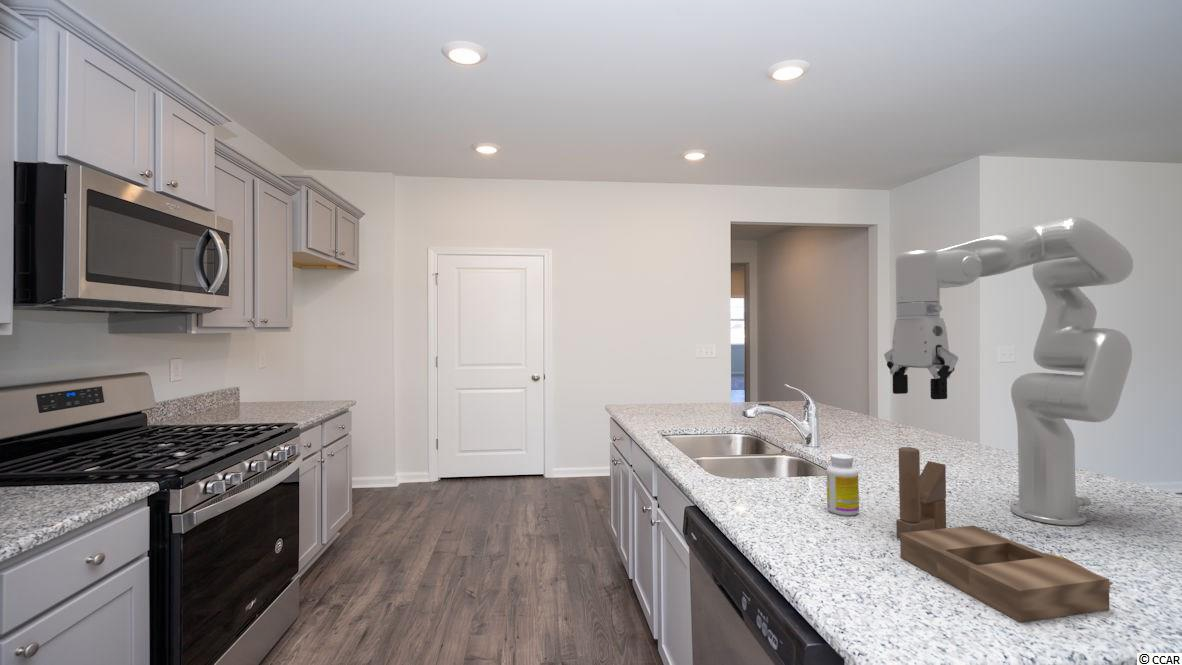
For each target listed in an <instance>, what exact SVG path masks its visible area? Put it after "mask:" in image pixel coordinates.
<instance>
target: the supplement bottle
mask: <svg viewBox="0 0 1182 665" xmlns="http://www.w3.org/2000/svg"><path fill="white" fill-rule="evenodd" d="M830 462H831V465H828V466H827V468H826V504H827V505H826V506H827V510H828V511H829V512H831V513H833V514H836V515H840V516H844V517H845V516H847V517H848V516H849V517H850V516H855V515H857V514H859V512H860V499H859V498H860V496H859V495H860V494H859V493H860V492H859V471H858V469H857V468H856V467H854V466H853V463H854V457H853V455H851V454H844V453H833V454H831V455H830Z"/></svg>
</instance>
